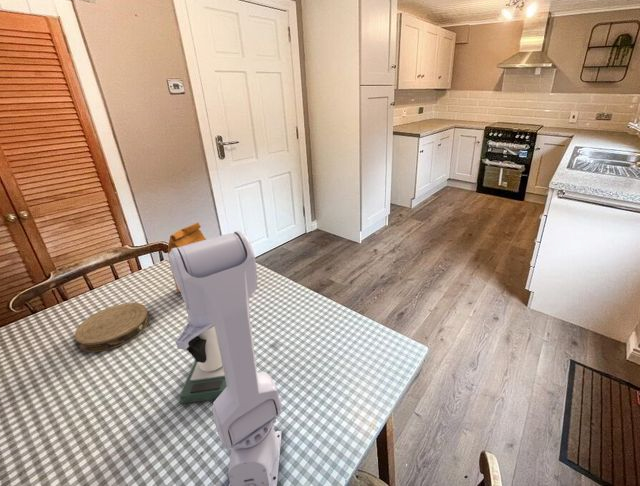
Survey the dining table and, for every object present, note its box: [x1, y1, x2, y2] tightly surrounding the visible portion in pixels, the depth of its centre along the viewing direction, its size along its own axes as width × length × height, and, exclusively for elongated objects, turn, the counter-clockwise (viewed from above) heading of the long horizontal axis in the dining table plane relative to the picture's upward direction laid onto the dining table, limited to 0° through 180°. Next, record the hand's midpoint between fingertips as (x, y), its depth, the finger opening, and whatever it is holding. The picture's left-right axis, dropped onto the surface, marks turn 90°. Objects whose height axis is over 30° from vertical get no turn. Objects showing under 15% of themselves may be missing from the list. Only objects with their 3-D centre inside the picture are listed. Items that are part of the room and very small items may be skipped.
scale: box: [179, 359, 227, 405], centre depth 72 cm, size 13×10×3 cm
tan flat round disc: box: [74, 302, 150, 353], centre depth 85 cm, size 16×16×3 cm
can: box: [198, 325, 223, 372], centre depth 70 cm, size 6×6×12 cm
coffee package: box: [167, 222, 207, 293], centre depth 101 cm, size 10×12×22 cm
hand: (211, 348), depth 71 cm, fingers closed on can, 6 cm apart
